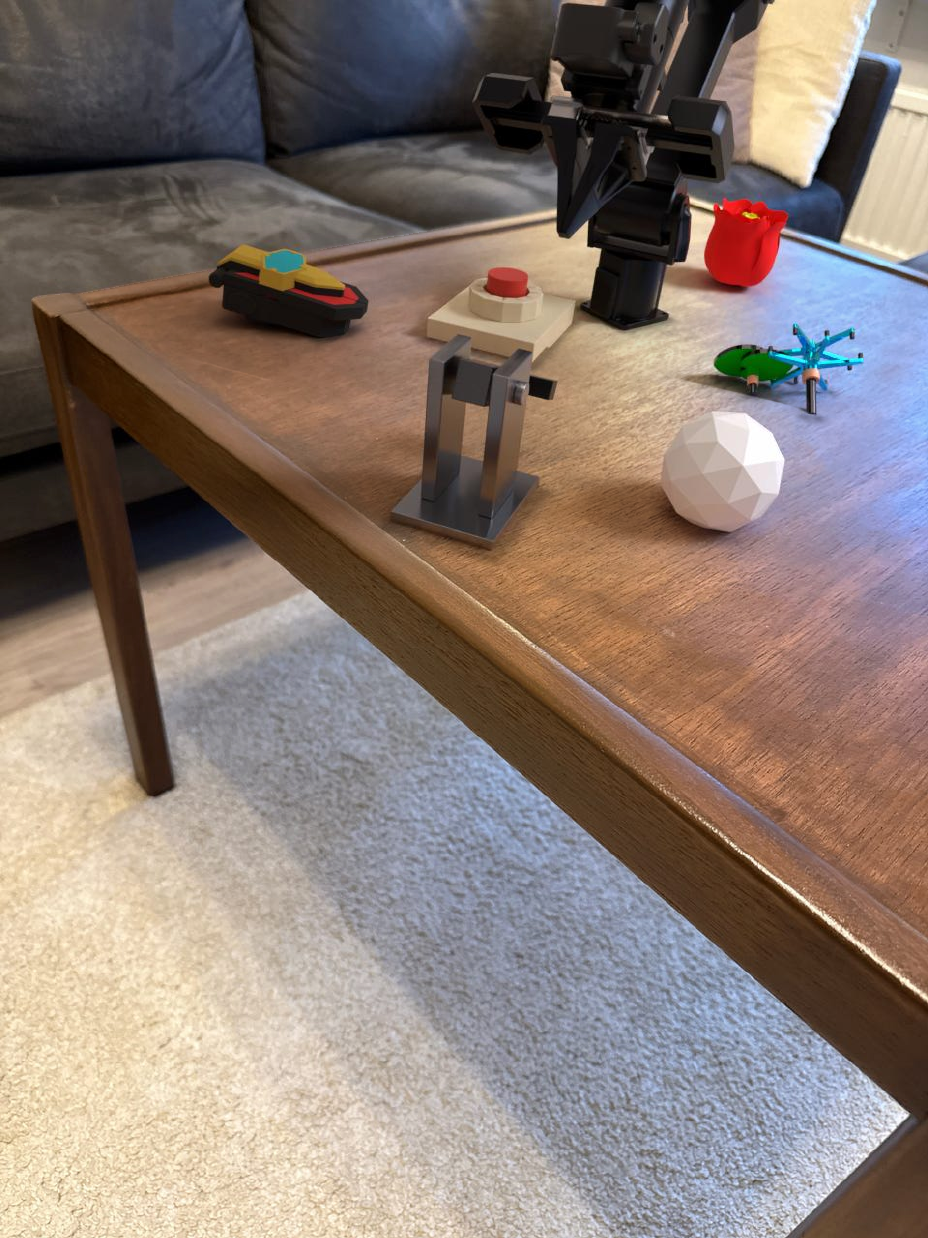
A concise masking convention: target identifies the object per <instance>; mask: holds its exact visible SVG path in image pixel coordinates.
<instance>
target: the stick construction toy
mask: <svg viewBox="0 0 928 1238" xmlns="http://www.w3.org/2000/svg"><path fill="white" fill-rule="evenodd" d="M855 333H856V332H855V328H854V327H849V328H848V329H845V330H843V331H841V332H838V333H836V334H835V335H832V336H830V330H829V329H826V330H824V332H823V335H824V337H823V338H822V340H821V341H818V342H816V341H815V340H812V339H811V340H810V339H809V338H808V337H807V335H806V334H805V333H804V331H803V330H802V328H801V327H800V326H799V324H798V323H793V324H792V336H796V338H797V339H798V342H799V343H800V346H801V347H797V348H796V347H795V348H790V349H788V348H787V349H781V350H778V349H774V346H773V345H769V346H768V347H767V348H764V347H762V346H760V345H757V344H752V343H751V344H749V343H744V344H743V343H742V344H737V345H733V346H730V347H728V348H725V349H724V350H722V351H720V352H719V353H718V354H717V355H716V356H715V357H714V359H713V367H714V368H715V369H716V370H717V371H718V372H719V373H721V374H723V375H726V376H728V377H732V378H742V379H744V380H745V381H746V387H747V388H748V395H749V397H755V396H757V392H758V391H757V389H758V387H759V384H760V383H763V382H769V386H770V387H771V388H773V387H775V386H778V385H780V384H783V383H785V382H787V381H790V380H792V379H793V384H794V385H798V384H799V377H800V376H801V382H802V384H803V385H805V391H806V392H805V401H806V402H805V408H806V409H805V411H806V413H807V414H810V415H815V417H817V385H818V386H819V387H820V389H821V390H822V391H823V392H826V391H828V379H824V377H823V375H822V373H821V371H820V370H824V369H832V368H833V369H835V368H841V367H846V371H849V372H851V371H852V370H853V366H858V365H859V366H860V365H863V364H864V353H863V352H858V353H857V358H848V357H845V356H842V355H840V354H836V353H834V352H830V351H827V350H826V349H827V348H828V347H830V346H832V345H834V344H836V343H838V342H840V341H842V340H844V339H845V338H847V337H849V338H848V339H849V340H851V341H853V340H855V338H856V337H855ZM799 357H800V358H799ZM821 359H823V360H821ZM794 366H795V367H796V368H794V369H793V367H794ZM792 369H793V370H792Z"/></svg>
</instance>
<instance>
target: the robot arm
mask: <svg viewBox="0 0 928 1238" xmlns="http://www.w3.org/2000/svg"><path fill="white" fill-rule="evenodd" d="M775 1H776V0H605V3H604V5H599V4H587V3H576V2H575V3H574V2H565V3H562V4H561V5H560V9H559V13H558V18H557V24H556V28H555V33H554V37H553V42H552V47H551V52H550V56H549V57H550V59H551V60H552V61H553V62H557V63H558V64H559V65H560V66H561V67H563V68H564V69H563V72H562V73H561V78H560V83H561V86H562V89H563V91H564V92H570V97H569V96H561V95H556V94H555V95H554V94H553V95H551V96H550V99H549V101H545V100H543V98H542V96H541V93H540V91H539V89H538V85H537V84H536V80H535V78H534V77H531V76H523V75H513V74H505V73H497V72H492V73H489V74H486V75H484V76H483V78H482V79H481V80H480V81H479V83H478V86H477V89H476V91H475V94H474V96H473V99H472V102H471V104H472V106H473V108H474V110H475V113H476V115H477V117H478V118H479V121H480V123H481V125H482V127H483V129H484V130H485V133H486V135H487V137H488V139H489V142H490V143H491V146H493V147H495V148H497V150H500V151H504V152H510V153H516V154H524V155H528V156H529V155H530V156H531V155H532V154H534V153H535V152H537V151H539V150H540V149H542V148H543V146H544V144H545V143H546V144H545V145H546V147H547V149H548V151H549V154H550V156H551V159H552V161H553V164H554V165H555V167H556V174H557V175H556V182H557V183H556V219H555V220H556V221H555V222H556V223H555V224H556V225H555V226H556V227H555V229H556V233H557V236H558V238H561V239H567V240H570V239H571V238H572V237H573V236H574V235H575V234H576V233H577V232H578V231H579V230H580V229H581V228H582V227H583V226H584V225H585V224H586V223H587V235H586V236H587V237H586V247H587V248H590V249H593V248H595V249H599V250H600V254H599V258H598V259H599V260H598V266H597V267H596V268H595V272H594V277H593V282H592V283H593V284H592V289H591V290H592V291H591V295H590V300H584V301H581V302H580V303H579V309H581V310H583V311H584V312H587V313H589V314H591V315H593V316H595V317H597V318H599V319H600V320H602V321H605V322H607V323H609V324H611V325H613V326H615V327H617V328H619V329H621V330H631V329H634V328H638V327H642V326H646V325H647V326H648V325H651V324H654V323H655V324H656V323H658V322H659V323H660V322H663V321H666V320H669V318H670V313H668V312H667V311H664V310H662V309H660V308H659V304H660V300H661V295H662V291H663V286H664V283H665V276H666V273H667V267H668V266H672V267H673V266H674V265H675V263H676V264H678V263H685V262H686V261H687V258H688V253H689V249H690V243H691V236H692V235H691V234H692V221H693V220H692V217H693V215H692V212H691V201H690V200H691V199H690V195H689V194H688V183H689V180H691V181H692V180H693V181H700V182H705V183H712V184H719V183H722V182H724V181H725V180H726V178H727V176H728V173H729V170H730V167H731V164H732V161H733V158H734V153H735V148H736V147H735V137H734V124H733V115H732V109H730V107H729V105H728V102H727V101H726V100H719V99H712V95H713V93H714V90H715V88H716V85H717V83H718V81H719V78H720V76H721V73H722V70H723V68H724V67H725V64H726V61H727V58H728V56H729V54H730V51H731V49H732V46H733V45H734V44H736V43H737V42H739V41H740V40H741V39H743V38H745V37H746V36H748V35H749V34H751V33H753V32H755V30H757V29H758V27H759V25H760V23H761V20H762V18H763V16H764V14H765V13H766V10H767V7H768V5H774V3H775ZM686 11H687V17H686V19H687V22H688V23H687V25H686V27H685V30H684V32H683V35H682V37H681V39H680V42H679V44H678V47H677V49H676V52H675V54H674V56H673V59H672V61H671V63H670V65H669V68H668V70H667V72H666V66H667V63H668V61H669V58H670V55H671V53H672V49H673V47H674V45H675V41H676V39H677V36H678V33H679V30H680V28H681V25H682V24H683V23H684V20H685V15H686ZM657 91H658V94H657ZM656 94H657V97H656V98H655V96H656ZM654 99H655V101H654ZM653 102H654V103H653ZM652 105H653V106H652ZM650 110H651V111H650ZM591 141H592V144H591ZM590 144H591V150H590V154H589V152H588V146H590Z"/></svg>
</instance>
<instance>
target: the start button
mask: <svg viewBox="0 0 928 1238" xmlns="http://www.w3.org/2000/svg"><path fill="white" fill-rule="evenodd" d="M487 277H488V278H487ZM487 277H486V278H487V288H486V292H488V293H489V294H491V295H494V296H499V297H503V298H520V297H525V296H526V291H527V283H528V282H529V274H528V273H526V272H525V271H523V270H521V269H519V268H514V267H510V266H509V267H507V266H499V267H493V268H491V269H489V270H488V272H487Z"/></svg>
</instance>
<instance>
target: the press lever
mask: <svg viewBox="0 0 928 1238" xmlns="http://www.w3.org/2000/svg"><path fill="white" fill-rule="evenodd" d="M500 366H501V365H499V364H495V363H491V362H487V361H483V360H479V359H475V358H474V359H473V358H470V359H459V364H458V368H457V373H456V378H455V383H454V387H453V392H452V397H451V398H452V399H455V400H459V401H462V402H466V404H471V405H474V406H478V407H481V408H489V403H490V394H491V384H492V375H493V373H494V372H495V371H496V370H497V369H498V368H499V367H500ZM557 385H558V381H557V380H556V379H551V378H546V377H544V376H543V377H542V376H539V375H536V374H531V373H530V377H529V393H528V396H529V397H533V398H538V399H541V400H545V401H554V397H555V394H556V391H557V390H556V389H557Z"/></svg>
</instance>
